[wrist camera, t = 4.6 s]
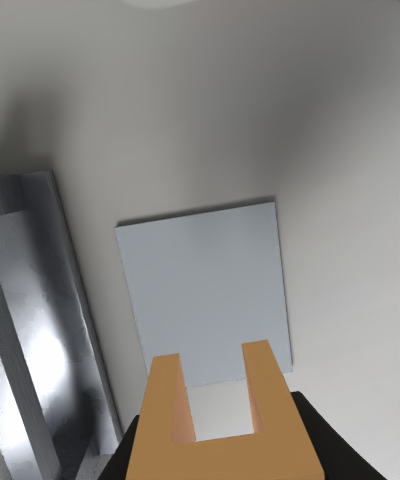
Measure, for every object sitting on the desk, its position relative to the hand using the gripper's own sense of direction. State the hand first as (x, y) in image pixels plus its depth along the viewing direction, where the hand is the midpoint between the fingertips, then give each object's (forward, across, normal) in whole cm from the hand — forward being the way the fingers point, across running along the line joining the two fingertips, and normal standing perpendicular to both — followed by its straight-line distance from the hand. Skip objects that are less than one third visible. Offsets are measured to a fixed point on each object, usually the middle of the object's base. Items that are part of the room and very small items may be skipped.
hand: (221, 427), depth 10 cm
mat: (+10, 0, 0) cm, 10 cm away
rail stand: (+10, +11, 0) cm, 15 cm away
